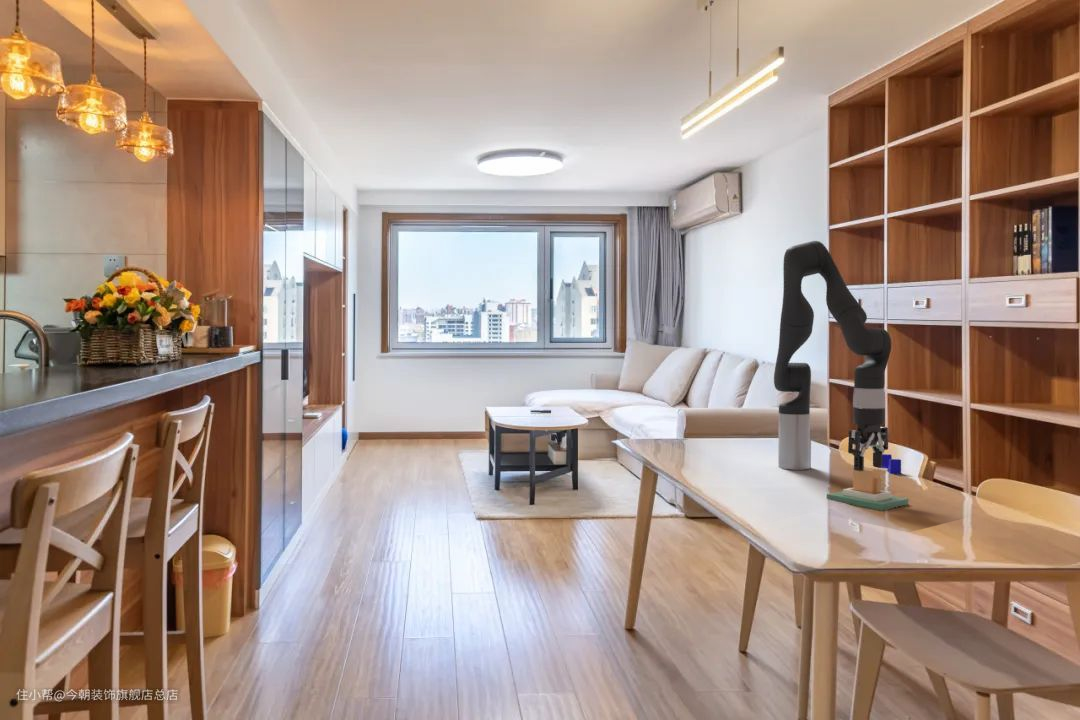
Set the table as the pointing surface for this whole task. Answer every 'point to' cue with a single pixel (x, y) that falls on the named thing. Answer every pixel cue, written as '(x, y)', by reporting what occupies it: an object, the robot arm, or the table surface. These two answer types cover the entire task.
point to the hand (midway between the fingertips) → (868, 468)
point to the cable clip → (891, 464)
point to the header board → (868, 499)
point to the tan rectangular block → (867, 481)
